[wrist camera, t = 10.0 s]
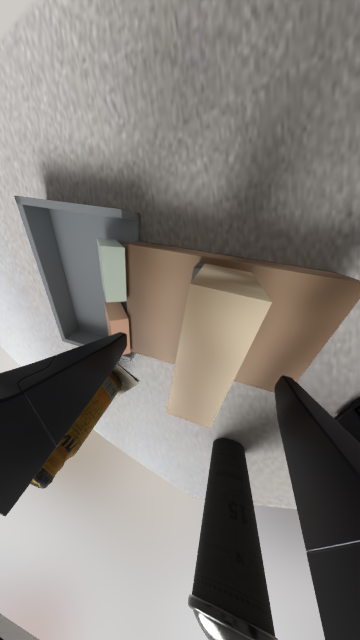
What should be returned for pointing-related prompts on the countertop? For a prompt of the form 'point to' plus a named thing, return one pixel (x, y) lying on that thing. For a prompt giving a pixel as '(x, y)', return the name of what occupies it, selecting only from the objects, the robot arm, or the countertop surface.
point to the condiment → (84, 424)
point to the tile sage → (112, 269)
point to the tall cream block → (214, 339)
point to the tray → (75, 260)
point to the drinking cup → (230, 555)
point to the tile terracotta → (117, 321)
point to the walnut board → (276, 329)
